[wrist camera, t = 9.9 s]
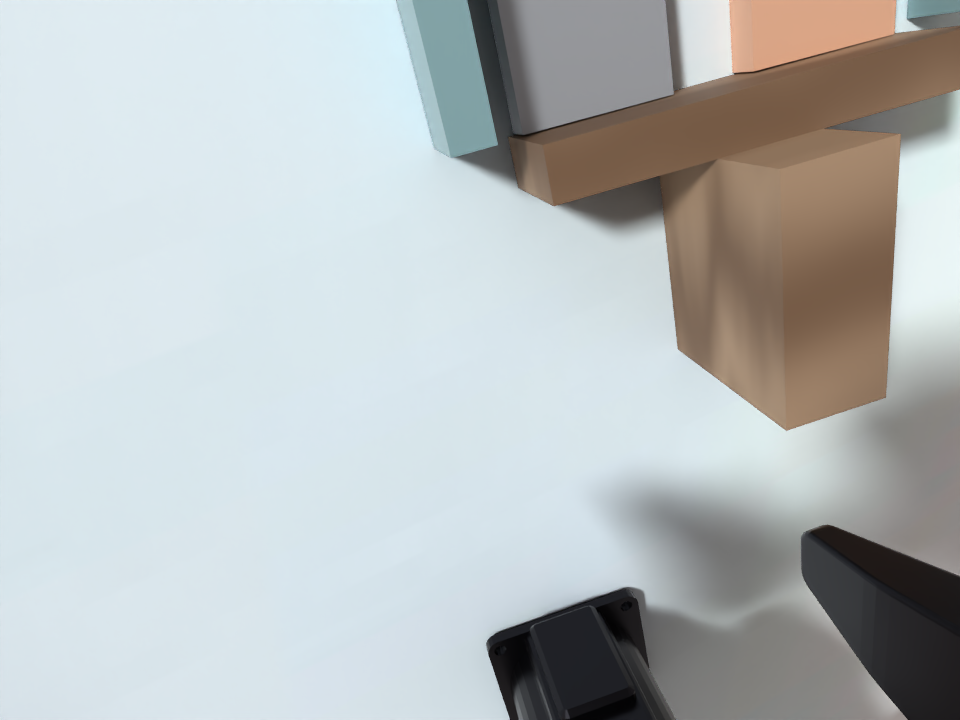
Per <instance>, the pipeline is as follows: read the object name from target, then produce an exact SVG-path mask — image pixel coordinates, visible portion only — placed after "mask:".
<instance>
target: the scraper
mask: <svg viewBox="0 0 960 720" xmlns="http://www.w3.org/2000/svg"><path fill="white" fill-rule="evenodd" d="M959 89H960V26H954V27H945V28H936V29H927V30H919V31H910V32H901V33H894V34H893V35H890V36H886V37H882V38H878V39H874V40H871V41H867V42H863V43H859V44H856V45H852V46H848V47H844V48H840V49H837V50H833V51H829V52H825V53H822V54H818V55H814V56H810V57H806V58H803V59H799V60H795V61H791V62H788V63H784V64H780V65H776V66H772V67H769V68H765V69H761V70H757V71H753V72H741V73H738V74H734V75H730V76H727V77H723V78H719V79H716V80H712V81H709V82H705V83H701V84H698V85H694V86H690V87H687V88H683V89H679V90H676V91H674V94H673V95H670V96H666V97H662V98H659V99H655V100H651V101H647V102H644V103H640V104H636V105H633V106H629V107H625V108H622V109H618V110H614V111H611V112H607V113H603V114H600V115H596V116H592V117H589V118H585V119H581V120H577V121H574V122H570V123H566V124H563V125H559V126H555V127H552V128H548V129H544V130H541V131H537V132H533V133H530V134H526V135H519V134H516V135H512V136H509V137H508V140H509V145H510V150H511V154H512V159H513V164H514V169H515V174H516V179H517V184H518V188H520V189H521V190H523V191H525V192H527V193H529V194H531V195H533V196H535V197H537V198H539V199H541V200H543V201H545V202H547V203H549V204H551V205H552V206H556V205H560V204H563V203H567V202H570V201H574V200H577V199H581V198H584V197H588V196H591V195H595V194H598V193H601V192H605V191H608V190H612V189H615V188H619V187H622V186H626V185H629V184H633V183H636V182H640V181H643V180H647V179H650V178H654V177H657V176H659V177H660V187H661V196H662V205H663V215H664V224H665V233H666V243H667V252H668V261H669V271H670V280H671V290H672V299H673V308H674V318H675V327H676V336H677V346H678V350H680V351H681V352H682V353H684V354H685V355H686V356H688V357H689V358H690V359H692V360H693V361H694V362H696V363H697V364H698V365H700V366H701V367H702V368H704V369H705V370H706V371H708V372H709V373H710V374H712V375H713V376H714V377H716V378H717V379H718V380H720V381H721V382H722V383H724V384H725V385H726V386H727V387H729V388H730V389H731V390H733V391H734V392H735V393H737V394H738V395H739V396H741V397H742V398H743V399H745V400H746V401H747V402H749V403H750V404H751V405H753V406H754V407H755V408H757V409H758V410H759V411H761V412H762V413H763V414H765V415H766V416H767V417H769V418H770V419H771V420H773V421H774V422H775V423H777V424H778V425H779V426H781V427H782V428H783V429H785V430H786V431H787V430H790V429H793V428H796V427H799V426H802V425H805V424H808V423H811V422H814V421H817V420H820V419H823V418H826V417H829V416H832V415H835V414H838V413H841V412H844V411H847V410H850V409H853V408H856V407H859V406H862V405H865V404H868V403H871V402H874V401H877V400H880V399H883V398H886V387H887V369H888V351H889V334H890V316H891V299H892V281H893V264H894V246H895V228H896V211H897V193H898V176H899V158H900V141H901V134H895V133H880V132H865V131H850V130H835V129H824V128H827V127H831V126H834V125H838V124H841V123H845V122H848V121H852V120H855V119H859V118H862V117H866V116H869V115H873V114H876V113H880V112H883V111H886V110H890V109H893V108H897V107H900V106H904V105H907V104H911V103H914V102H918V101H921V100H925V99H928V98H932V97H935V96H939V95H942V94H946V93H949V92H953V91H956V90H959Z"/></svg>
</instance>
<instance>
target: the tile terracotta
mask: <svg viewBox="0 0 960 720" xmlns="http://www.w3.org/2000/svg"><path fill="white" fill-rule="evenodd" d="M729 5H730V27H731V49H732V71H733V73H739V72H753V71H757V70H761V69H765V68H769V67H772V66H776V65H780V64H784V63H788V62H791V61H795V60H799V59H803V58H806V57H810V56H814V55H818V54H822V53H825V52H829V51H833V50H837V49H840V48H844V47H848V46H852V45H856V44H859V43H863V42H867V41H871V40H874V39H878V38H882V37H886V36H890V35H893V34H894V33H895V14H896V0H729Z"/></svg>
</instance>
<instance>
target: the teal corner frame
mask: <svg viewBox="0 0 960 720" xmlns="http://www.w3.org/2000/svg"><path fill="white" fill-rule="evenodd" d="M396 1H397V5H398V9H399V13H400V17H401V21H402V25H403V29H404V33H405V37H406V40H407V44H408V48H409V52H410V56H411V60H412V64H413V68H414V72H415V76H416V79H417V83H418V87H419V91H420V95H421V99H422V103H423V107H424V111H425V114H426V118H427V122H428V126H429V130H430V134H431V138H432V142H433V146H434V149H436V150H437V151H439V152H441V153H443V154H445V155H446V156H448V157H450V158H453V157H457V156H461V155H464V154H468V153H471V152H475V151H479V150H482V149H486V148H489V147H493V146H497V145H498V142H497V138H496V133H495V128H494V124H493V119H492V114H491V109H490V105H489V100H488V95H487V91H486V86H485V81H484V77H483V72H482V67H481V63H480V58H479V53H478V48H477V44H476V39H475V34H474V30H473V25H472V20H471V16H470V11H469V6H468V2H467V0H396ZM953 12H960V0H908V12H907V19H910V18H917V17H924V16H932V15H939V14H946V13H953Z"/></svg>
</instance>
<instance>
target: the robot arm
mask: <svg viewBox="0 0 960 720" xmlns="http://www.w3.org/2000/svg"><path fill="white" fill-rule="evenodd" d="M801 569H802V574H803V577H804V580H805V582H806V584H807V585H808V587H809V589H810V590H811V591H812V593H813V594H814V596H815V597H816V599H817V600H818V601H819V603H820V604H821V606H822V607H823V609H824V610H825V611H826V613H827V614H828V616H829V617H830V619H831V620H832V621H833V623H834V624H835V626H836V627H837V628H838V630H839V631H840V633H841V634H842V636H843V637H844V638H845V640H846V641H847V643H848V644H849V646H850V647H851V648H852V650H853V651H854V653H855V654H856V656H857V657H858V658H859V660H860V661H861V663H862V664H863V665H864V667H865V668H866V669H867V671H868V672H869V674H870V675H871V676H872V677H873V679H874V680H875V681H876V682H877V684H878V685H879V686H880V687H881V688H882V690H883V691H884V692H885V693H886V694H887V696H888V697H889V698H890V699H891V700H892V701H893V703H894V704H895V705H896V706H897V707H898V709H899V710H900V711H901V712H902V713H903V714H904V715H905V717H906V718H907V719H908V720H960V576H958V575H956V574H953V573H951V572H948V571H946V570H943V569H940V568H938V567H935V566H933V565H930V564H928V563H925V562H923V561H920V560H918V559H915V558H913V557H910V556H908V555H905V554H903V553H900V552H898V551H895V550H892V549H890V548H887V547H885V546H882V545H880V544H877V543H875V542H872V541H870V540H867V539H865V538H862V537H860V536H857V535H855V534H852V533H850V532H847V531H844V530H842V529H839V528H837V527H834V526H831V525H822V526H819V527H816V528H814V529H811V530H808V531H806V532H804V533H803V535H802V537H801ZM624 602H625V603H624ZM486 646H487V651H488V654H489V657H490V660H491V663H492V666H493V669H494V672H495V675H496V678H497V681H498V684H499V687H500V690H501V693H502V696H503V699H504V702H505V705H506V708H507V711H508V714H509V717H510V720H676V719H675V717H674V715H673V713H672V711H671V710H670V708H669V706H668V704H667V702H666V700H665V698H664V697H663V695H662V693H661V691H660V689H659V687H658V685H657V684H656V682H655V680H654V678H653V676H652V674H651V672H650V670H649V664H648V659H647V653H646V647H645V641H644V636H643V630H642V624H641V618H640V612H639V607H638V602H637V599H636V598H635V596H634V594H633V593H632V592H631V591H630V590H621V591H618V592H615V593H612V594H609V595H606V596H604V597H601V598H598V599H595V600H592V601H589V602H587V603H584V604H581V605H578V606H575V607H572V608H569V609H567V610H564V611H561V612H558V613H555V614H552V615H549V616H547V617H544V618H541V619H538V620H535V621H532V622H530V623H527V624H524V625H521V626H518V627H515V628H512V629H510V630H507V631H504V632H501V633H498V634H495V635H493V636H492V637H490V638H489V639H488V641H487V643H486ZM499 646H501V647H499Z"/></svg>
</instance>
